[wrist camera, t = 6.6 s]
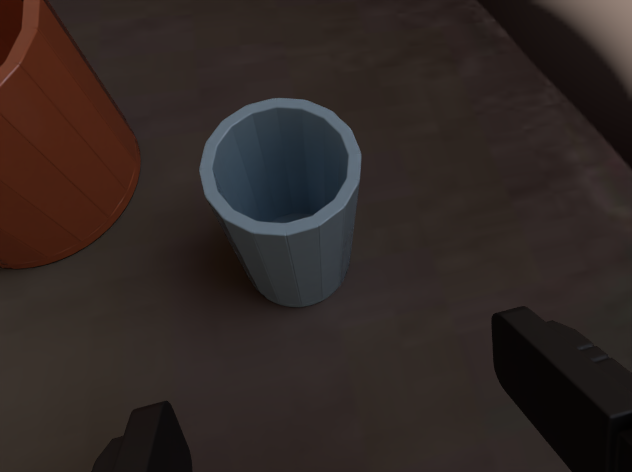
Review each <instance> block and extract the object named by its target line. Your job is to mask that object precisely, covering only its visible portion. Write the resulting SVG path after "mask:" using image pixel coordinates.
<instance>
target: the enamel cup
mask: <svg viewBox="0 0 632 472" xmlns="http://www.w3.org/2000/svg"><path fill="white" fill-rule="evenodd" d="M361 157H362V156H361V152H360V149H359V147H358V144H357V142H356V139H355V137H354V134H353V132H352V130H351V129H350V128H349V127H348V126H347V125H346V124H345V123H344V122H343V121H342V120H341V119H340V118H339V117H338V116H337V115H336V114H335V113H334V112H333V111H331V110H329V109H327V108H324V107H322V106H319V105H317V104H315V103H312V102H310V101H307V100H304V99H288V98H276V99H275V98H273V99H269V100H265V101H261V102H257V103H253V104H249V105H247V106H244V107H243V108H241V109H240V110H238V111H237V112H235V113H233V114H232V115H230V116H229V117H227V118H226V119H224V120H223V121H222V122H221V123H220V124H219V126H218V127H217V128H216V130H215V131H214V132H213V134H212V135H211V136H210V138H209V139H208V140H207V142H206V144H205V147H204V151H203V155H202V159H201V163H200V167H199V173H200V177H201V182H202V186H203V191H204V195H205V197H206V199H207V201H208V203H209V205H210V207H211V209H212V211H213V212H214V214H215V216H216V218H217V220H218V222H219V224H220V226H221V227H222V229H223V231H224V233H225V235H226V237H227V239H228V240H229V242H230V244H231V246H232V248H233V250H234V252H235V254H236V255H237V257H238V259H239V261H240V263H241V265H242V267H243V269H244V270H245V272H246V274H247V276H248V278H249V279H250V280H251V282H252V283H253V285H254V286H255V288H256V289H257V290H258V291H259V292H260V293H261V294H262V295H263V296H264V297H266V298H267V299H269V300H270V301H272V302H275V303H277V304H280V305H283V306H288V307H305V306H309V305H313V304H316V303H318V302H320V301H322V300H324V299H326V298H327V297H329V296H330V295H331V294H332V293H334V292H335V291H336V290H337V288H338V287H339V286H340V285H341V283H342V281H343V280H344V278H345V275H346V273H347V270H348V267H349V262H350V254H351V246H352V238H353V230H354V222H355V215H356V207H357V199H358V191H359V183H360V171H361Z"/></svg>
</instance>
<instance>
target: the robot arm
mask: <svg viewBox="0 0 632 472" xmlns="http://www.w3.org/2000/svg"><path fill="white" fill-rule="evenodd" d="M492 342H493V362H494V369H495V372H496V375H497V378H498V380H499V382H500V384H501V386H502V387H503V389H504V390H505V391H506V393H507V394H508V395H509V396H510V397H511V399H512V400H513V401H514V402H515V403H516V405H517V406H518V407H519V408H520V409H521V411H522V412H523V413H524V414H525V416H526V417H527V418H528V419H529V420H530V422H531V423H532V424H533V425H534V426H535V428H536V429H537V430H538V431H539V432H540V434H541V435H542V436H543V437H544V439H545V440H546V441H547V442H548V443H549V445H550V446H551V447H552V448H553V449H554V451H555V452H556V453H557V454H558V455H559V457H560V458H561V459H562V460H563V462H564V463H565V464H566V465H567V466H568V468H569V469H570V470H571V471H572V472H632V373H631V372H630V371H628V370H627V369H626V368H624V367H623V366H622V365H621V364H619V363H618V362H617V361H615V360H614V359H613V358H609V357H608V354H606V353H605V352H604V351H602V350H601V349H600V348H598V347H597V346H594V345H593V343H592V342H591V341H589V340H588V339H587V338H585V337H584V336H583V335H582V334H580V333H579V332H578V331H576V330H575V329H572V328H570V327H567V326H565V325H563V324H560V323H558V322H555V321H553V320H552V321H548V322H545V321H544V320H542V319H541V318H540V317H539V316H538V315H536V314H535V313H534V312H533V311H532V310H530V309H529V308H528V307H525V306H521V307H517V308H513V309H510V310H506V311H502V312H498V313H495V314H493V316H492ZM91 472H192V460H191V454H190V450H189V447H188V445H187V442H186V440H185V438H184V435H183V433H182V430H181V428H180V425H179V423H178V420H177V418H176V415H175V413H174V411H173V408H172V406H171V404H170V403H169V402H168V401H164V402H160V403H156V404H152V405H148V406H145V407H141V408H137V409H134V410H133V411H132V412H131V415H130V418H129V421H128V424H127V427H126V430H125V433H124V436H121V437H118V438H114V439H112V440H111V441H110V443H109V444H108V445H107V447H106V448H105V449H104V450H103V452H102V453H101V454H100V456H99V457H98V458H97V459H96V461H95V464H94V466H93V469H92V471H91Z"/></svg>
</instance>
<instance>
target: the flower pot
mask: <svg viewBox="0 0 632 472" xmlns="http://www.w3.org/2000/svg"><path fill="white" fill-rule="evenodd" d="M140 162H141V161H140V150H139V146H138V142H137V139H136V137H135V135H134V133H133V131H132V129H131V128H130V126H129V125H128V123H127V121H126V119H125V117H124V115H123V114H122V112H121V111H120V109H119V108H118V106H117V105H116V103H115V102H114V100H113V99H112V97H111V96H110V94H109V93H108V91H107V89H106V88H105V86H104V85H103V83H102V82H101V80H100V79H99V77H98V76H97V74H96V73H95V71H94V70H93V68H92V67H91V65H90V64H89V62H88V61H87V59H86V57H85V56H84V54H83V53H82V51H81V50H80V48H79V47H78V45H77V44H76V42H75V41H74V39H73V38H72V36H71V35H70V33H69V32H68V30H67V29H66V27H65V26H64V24H63V22H62V21H61V19H60V18H59V16H58V15H57V13H56V12H55V10H54V9H53V7H52V6H51V4H50V3H49V1H48V0H0V268H9V269H21V268H31V267H37V266H41V265H46V264H49V263H52V262H55V261H58V260H61V259H64V258H66V257H68V256H70V255H72V254H74V253H76V252H78V251H80V250H81V249H83V248H85V247H86V246H88V245H89V244H91V243H92V242H93V241H95V240H96V239H98V238H99V237H100V236H101V235H102V234H103V233H105V232H106V231H107V230H108V229H109V228H110V227H111V226H112V225H113V224H114V222H115V221H116V220H117V219H118V218H119V217H120V215H121V214H122V212H123V211H124V210H125V208H126V207H127V205H128V203H129V201H130V199H131V197H132V196H133V193H134V191H135V188H136V185H137V182H138V178H139V173H140Z"/></svg>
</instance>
